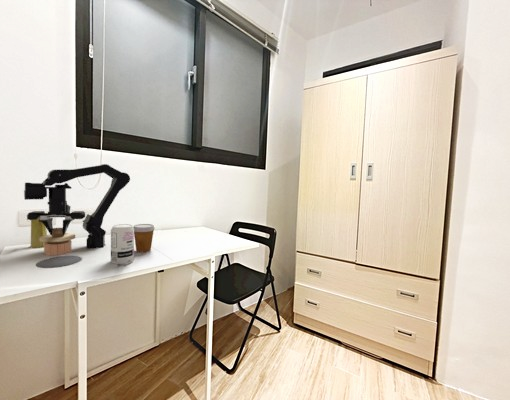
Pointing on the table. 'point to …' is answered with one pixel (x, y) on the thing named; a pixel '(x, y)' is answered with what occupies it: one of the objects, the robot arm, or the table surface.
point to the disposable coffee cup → (143, 237)
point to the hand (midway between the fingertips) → (58, 234)
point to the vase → (37, 233)
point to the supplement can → (122, 244)
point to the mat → (59, 261)
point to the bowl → (57, 247)
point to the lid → (57, 236)
